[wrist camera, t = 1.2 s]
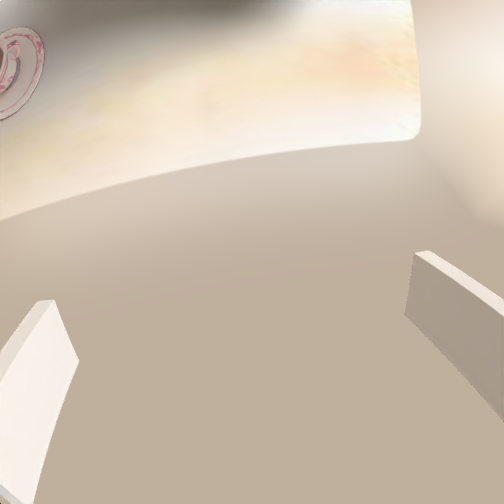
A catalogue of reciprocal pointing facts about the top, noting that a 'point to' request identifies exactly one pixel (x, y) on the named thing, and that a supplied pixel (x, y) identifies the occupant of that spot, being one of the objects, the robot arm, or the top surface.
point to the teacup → (31, 65)
